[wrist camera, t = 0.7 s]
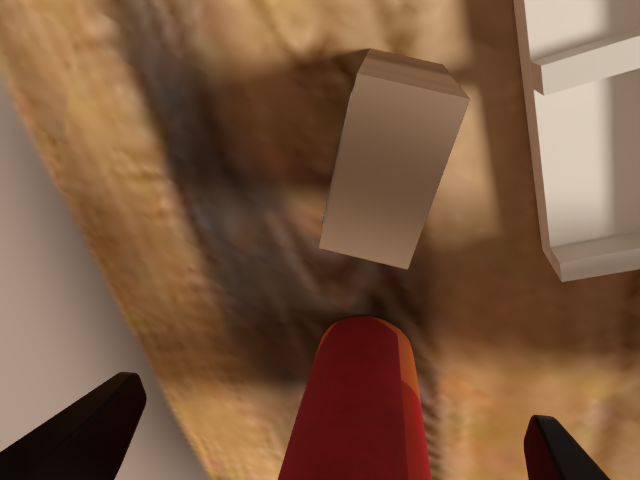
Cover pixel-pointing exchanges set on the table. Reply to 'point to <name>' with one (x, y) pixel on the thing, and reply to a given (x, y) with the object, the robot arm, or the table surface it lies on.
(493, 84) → the table surface
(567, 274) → the white tray base
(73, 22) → the table surface
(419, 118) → the tall taupe pillar block
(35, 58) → the table surface
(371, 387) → the paper cup
